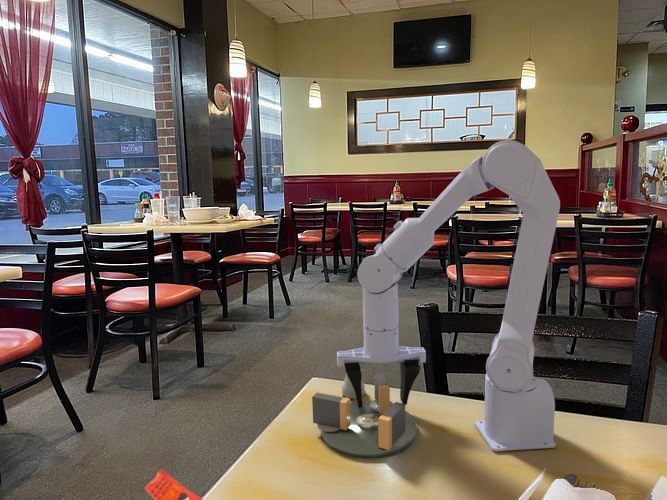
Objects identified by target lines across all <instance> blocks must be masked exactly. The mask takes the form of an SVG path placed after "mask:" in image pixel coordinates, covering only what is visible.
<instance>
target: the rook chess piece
mask: <svg viewBox="0 0 667 500" xmlns="http://www.w3.org/2000/svg"><path fill="white" fill-rule="evenodd" d="M359 365H360V366H361V364H359ZM340 392H341V395H342V396H343V395H344V396H345V397H344V398H346V397H347V398H351V399H350V400H354V399H353V398H356V394H355V391H354V388H353V386H352V384H351V382H350V380H349V378H348V376H347V374H346V373H345V378H344V380H343V383H342V385H341V391H340ZM361 394H362V397H364V395H365V394H366V385H365V383H364V382H363V379H361Z"/></svg>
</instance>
